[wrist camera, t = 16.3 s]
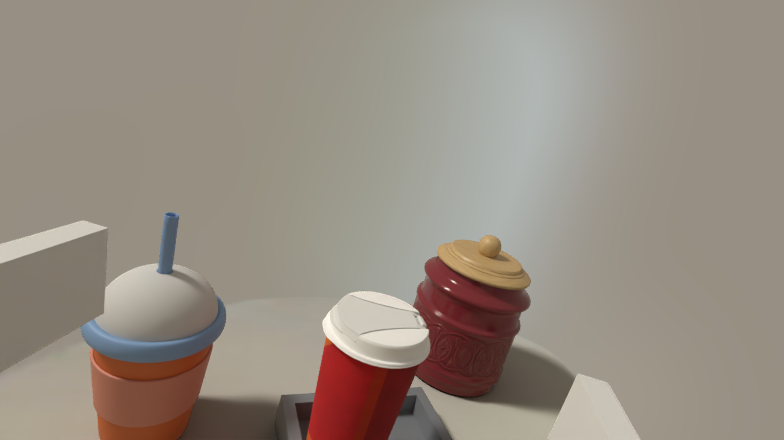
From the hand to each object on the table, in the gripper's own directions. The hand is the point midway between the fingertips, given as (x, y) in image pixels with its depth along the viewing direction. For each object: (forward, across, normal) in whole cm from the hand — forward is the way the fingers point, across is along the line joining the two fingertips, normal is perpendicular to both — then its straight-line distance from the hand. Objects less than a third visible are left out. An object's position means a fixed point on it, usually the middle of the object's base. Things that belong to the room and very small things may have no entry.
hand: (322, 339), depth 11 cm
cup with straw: (+14, -15, -23) cm, 31 cm away
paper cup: (+16, 0, -22) cm, 27 cm away
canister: (+36, +10, -23) cm, 44 cm away
